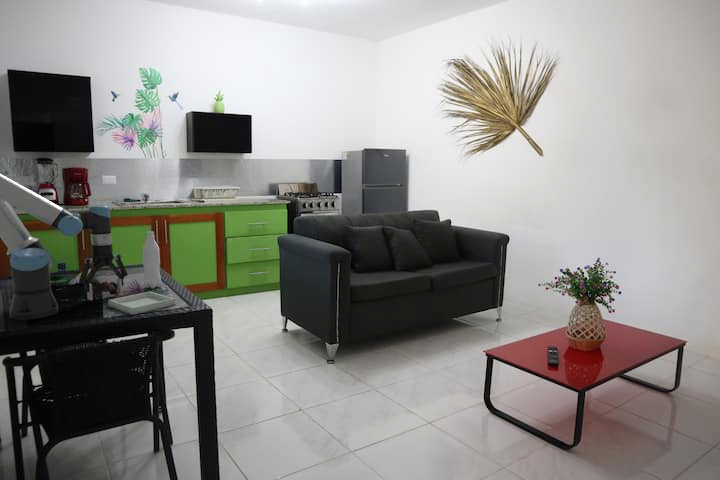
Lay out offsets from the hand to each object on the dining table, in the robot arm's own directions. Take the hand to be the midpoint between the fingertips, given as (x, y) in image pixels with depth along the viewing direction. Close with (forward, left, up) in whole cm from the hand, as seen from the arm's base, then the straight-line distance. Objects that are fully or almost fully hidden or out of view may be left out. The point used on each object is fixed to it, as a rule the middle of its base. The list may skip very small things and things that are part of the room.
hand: (105, 296), depth 212 cm
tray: (+4, -21, -1) cm, 21 cm away
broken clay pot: (0, -1, -1) cm, 1 cm away
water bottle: (+23, +3, -1) cm, 23 cm away
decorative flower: (-1, +37, -1) cm, 37 cm away
